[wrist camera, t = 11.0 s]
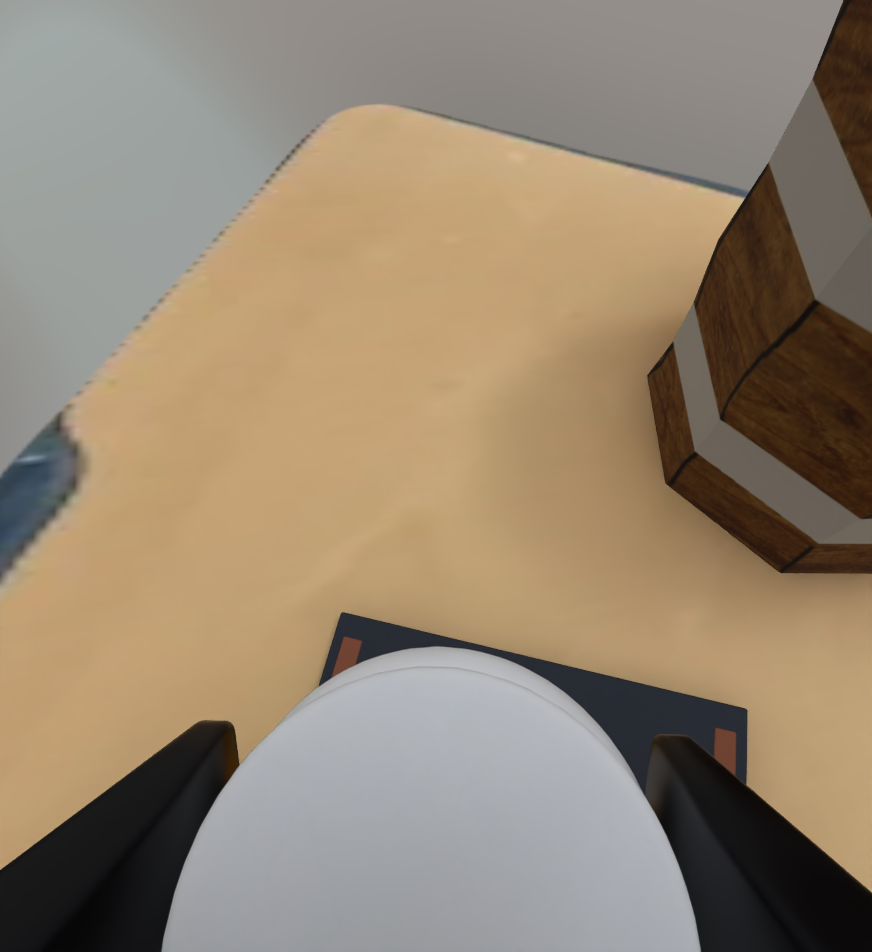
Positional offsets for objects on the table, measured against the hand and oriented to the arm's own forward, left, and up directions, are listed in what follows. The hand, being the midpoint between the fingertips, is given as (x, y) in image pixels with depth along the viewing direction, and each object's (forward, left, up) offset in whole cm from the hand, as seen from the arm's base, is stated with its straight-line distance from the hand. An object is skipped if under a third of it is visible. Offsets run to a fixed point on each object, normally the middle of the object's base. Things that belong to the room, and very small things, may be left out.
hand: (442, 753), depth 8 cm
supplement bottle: (-1, 0, -7) cm, 7 cm away
